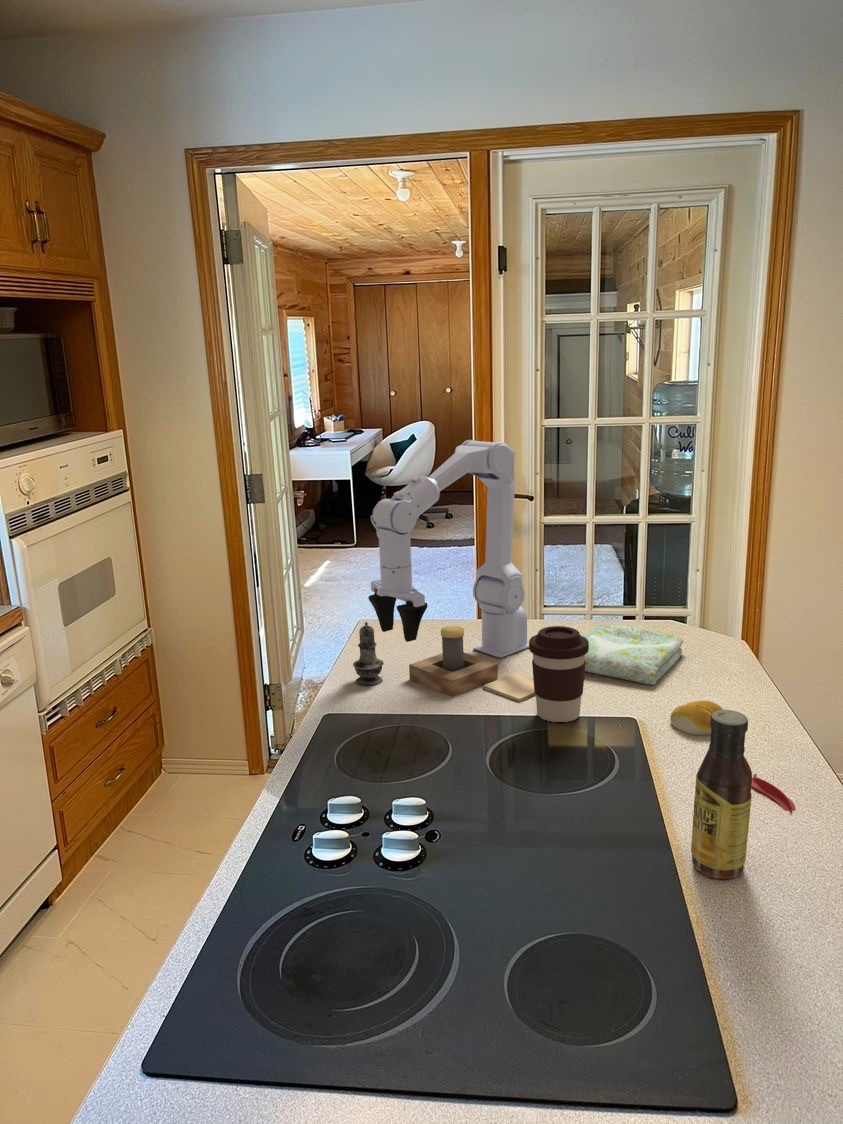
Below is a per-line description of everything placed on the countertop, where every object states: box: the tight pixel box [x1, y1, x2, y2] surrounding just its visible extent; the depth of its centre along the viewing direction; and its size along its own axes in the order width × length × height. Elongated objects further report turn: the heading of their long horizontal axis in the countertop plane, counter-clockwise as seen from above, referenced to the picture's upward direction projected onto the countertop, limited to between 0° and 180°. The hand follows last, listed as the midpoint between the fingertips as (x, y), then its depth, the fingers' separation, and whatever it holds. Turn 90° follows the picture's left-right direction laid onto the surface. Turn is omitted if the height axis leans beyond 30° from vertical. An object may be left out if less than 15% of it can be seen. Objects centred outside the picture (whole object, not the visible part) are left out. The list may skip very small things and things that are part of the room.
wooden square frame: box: [408, 651, 499, 697], centre depth 164 cm, size 12×12×3 cm
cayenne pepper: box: [751, 773, 796, 816], centre depth 119 cm, size 12×5×2 cm, turn 174°
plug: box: [440, 625, 465, 672], centre depth 163 cm, size 4×4×10 cm
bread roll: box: [669, 700, 725, 736], centre depth 141 cm, size 8×9×4 cm
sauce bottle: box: [690, 709, 753, 880], centre depth 100 cm, size 6×6×20 cm
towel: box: [582, 625, 685, 686], centre depth 170 cm, size 18×21×5 cm
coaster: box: [482, 672, 536, 703], centre depth 159 cm, size 9×9×1 cm
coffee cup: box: [528, 625, 589, 723], centre depth 145 cm, size 10×10×15 cm
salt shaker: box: [352, 621, 385, 687], centre depth 163 cm, size 6×6×12 cm
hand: (398, 635), depth 159 cm, fingers open, 7 cm apart
